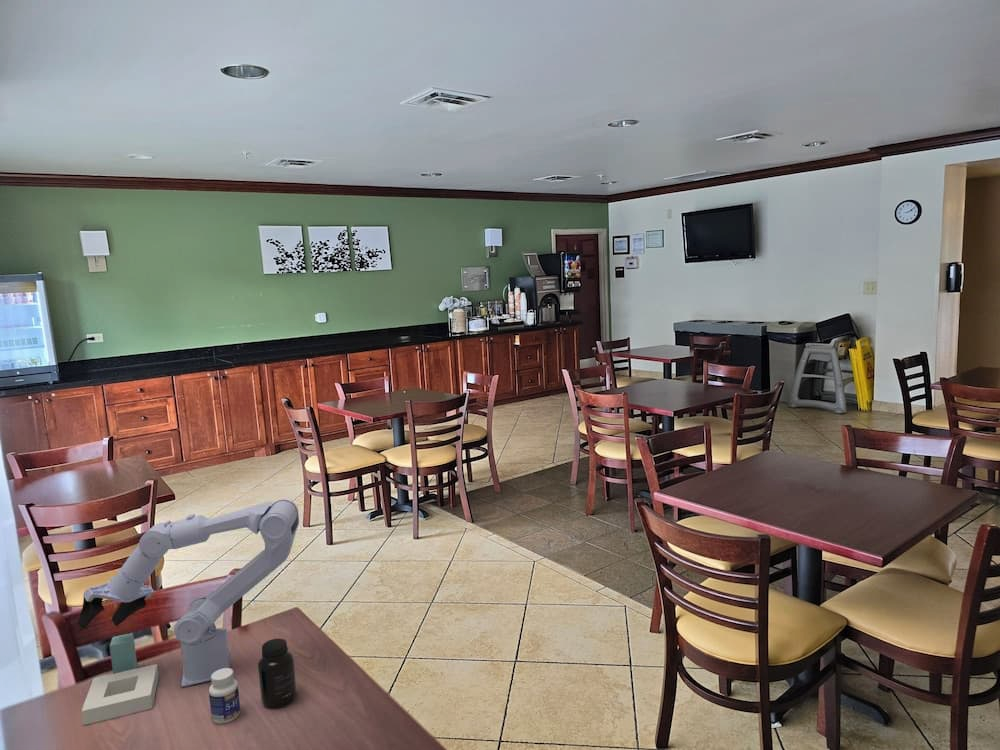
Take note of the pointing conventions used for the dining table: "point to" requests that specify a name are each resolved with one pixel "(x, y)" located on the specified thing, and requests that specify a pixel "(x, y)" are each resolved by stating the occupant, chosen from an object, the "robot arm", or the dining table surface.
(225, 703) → the pill bottle
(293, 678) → the supplement bottle
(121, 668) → the peg
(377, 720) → the dining table surface
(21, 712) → the dining table surface
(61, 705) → the dining table surface
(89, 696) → the socket block
